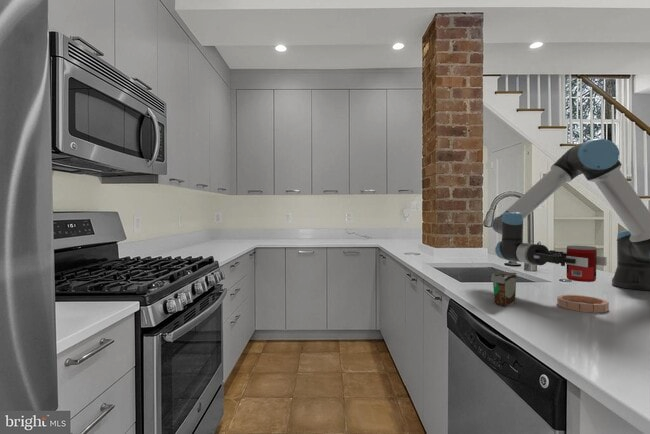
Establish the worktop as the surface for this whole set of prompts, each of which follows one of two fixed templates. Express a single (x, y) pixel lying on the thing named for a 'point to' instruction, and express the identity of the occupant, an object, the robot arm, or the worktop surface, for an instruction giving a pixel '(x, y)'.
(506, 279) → the food container
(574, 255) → the canned food
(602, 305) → the ring dish
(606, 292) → the worktop surface
